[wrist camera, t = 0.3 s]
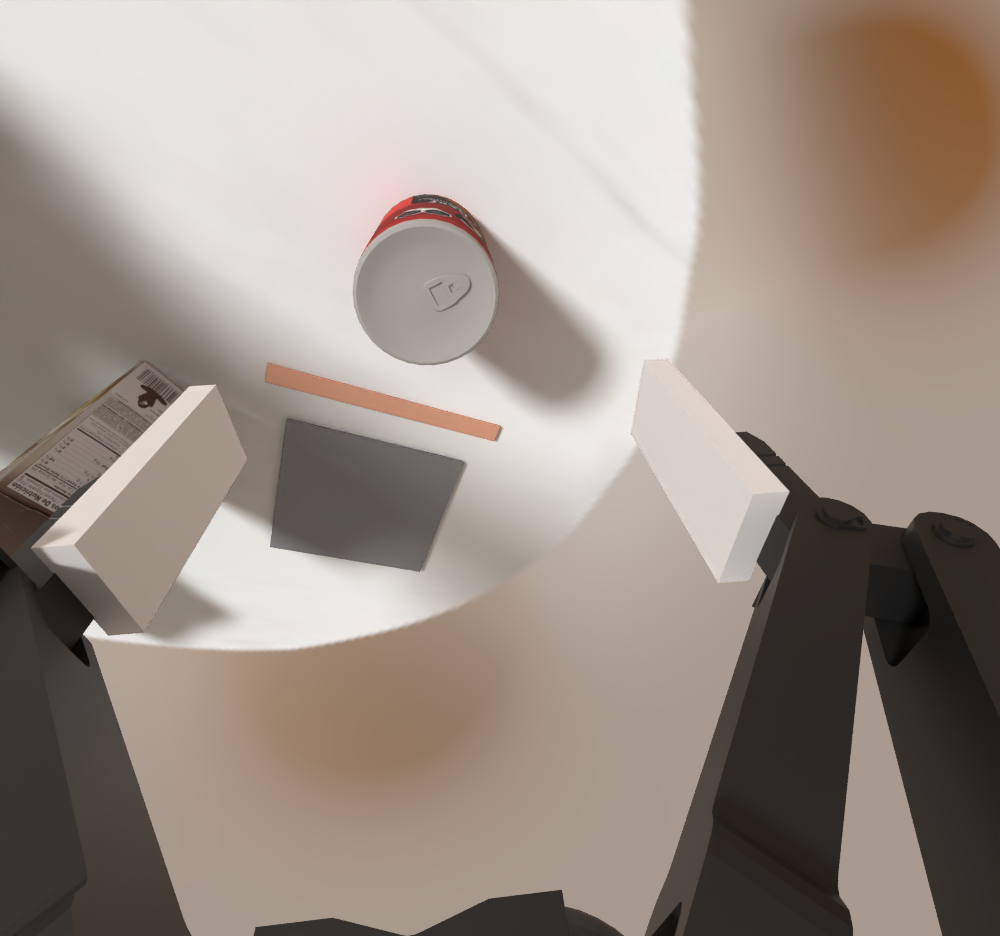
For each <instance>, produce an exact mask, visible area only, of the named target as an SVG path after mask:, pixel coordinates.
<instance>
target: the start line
mask: <svg viewBox="0 0 1000 936" xmlns="http://www.w3.org/2000/svg"><path fill="white" fill-rule="evenodd" d="M265 382H267V383H271V384H275V385H279V386H283V387H287V388H290V389H294V390H298V391H302V392H306V393H310V394H314V395H318V396H321V397H325V398H329V399H333V400H337V401H341V402H345V403H348V404H352V405H356V406H360V407H364V408H368V409H372V410H375V411H379V412H383V413H387V414H391V415H395V416H399V417H402V418H406V419H410V420H414V421H418V422H422V423H426V424H429V425H433V426H437V427H441V428H445V429H449V430H453V431H456V432H460V433H464V434H468V435H472V436H476V437H480V438H484V439H487V440H491V441H494V440H495V438H496V435H497V433H498V431H499V428H500V426H499V425H496V424H492V423H488V422H484V421H481V420H477V419H473V418H470V417H466V416H462V415H459V414H455V413H451V412H447V411H444V410H440V409H436V408H433V407H429V406H425V405H422V404H418V403H414V402H410V401H407V400H403V399H399V398H396V397H392V396H388V395H385V394H381V393H377V392H373V391H370V390H366V389H362V388H359V387H355V386H351V385H348V384H344V383H340V382H336V381H333V380H329V379H325V378H322V377H318V376H314V375H311V374H307V373H303V372H299V371H296V370H292V369H288V368H285V367H281V366H277V365H274V364H270V363H268V364H267V368H266V378H265Z"/></svg>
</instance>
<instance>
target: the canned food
mask: <svg viewBox="0 0 1000 936" xmlns="http://www.w3.org/2000/svg"><path fill="white" fill-rule="evenodd" d="M353 299H354V307H355V310H356V313H357V317H358V320H359V322H360V323H361V325H362V327H363V329H364V331H365V332H366V334H367V335H368V336H369V337H370V339H371V340H372V341H373V342H374V343H375V344H376V345H377V346H378V347H379V348H381V349H382V350H383V351H384V352H386V353H388V354H389V355H391V356H393V357H394V358H397V359H399V360H402V361H405V362H407V363H412V364H418V365H437V364H443V363H448V362H450V361H453V360H456V359H458V358H460V357H462V356H464V355H465V354H467V353H469V352H470V351H471V350H473V349H474V348H475V347H476V346H477V345H478V344H479V343H480V342H481V341H482V340H483V338H484V337H485V336H486V335H487V333H488V332H489V330H490V328H491V326H492V324H493V322H494V319H495V316H496V312H497V309H498V299H499V287H498V278H497V274H496V271H495V268H494V264H493V261H492V258H491V256H490V253H489V250H488V248H487V245H486V243H485V240H484V238H483V235H482V232H481V230H480V228H479V226H478V224H477V223H476V221H475V219H474V218H473V217H472V216H471V214H470V213H469V212H468V211H467V210H466V209H465V208H463V207H462V206H461V205H460V204H458V203H456V202H454V201H453V200H451V199H449V198H446V197H442V196H438V195H426V194H424V195H418V196H413V197H410V198H408V199H406V200H403V201H401V202H400V203H398V204H397V205H396V206H394V207H393V208H392V209H391V210H390V211H389V212H388V213H387V214H386V215H385V216H384V218H383V220H382V221H381V223H380V225H379V226H378V228H377V230H376V231H375V233H374V235H373V236H372V238H371V240H370V241H369V243H368V245H367V247H366V248H365V250H364V252H363V253H362V255H361V258H360V260H359V262H358V265H357V268H356V271H355V276H354V285H353Z"/></svg>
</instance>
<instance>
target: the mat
mask: <svg viewBox="0 0 1000 936" xmlns="http://www.w3.org/2000/svg"><path fill="white" fill-rule="evenodd" d="M462 465H463V461H461V460H457V459H453V458H449V457H445V456H441V455H436V454H432V453H428V452H424V451H420V450H416V449H411V448H407V447H403V446H399V445H395V444H391V443H387V442H382V441H378V440H374V439H370V438H366V437H362V436H358V435H353V434H349V433H345V432H341V431H337V430H333V429H329V428H324V427H320V426H316V425H312V424H308V423H304V422H299V421H295V420H291V419H287V422H286V429H285V437H284V445H283V452H282V460H281V467H280V475H279V483H278V490H277V498H276V505H275V513H274V521H273V528H272V536H271V543H270V547H273V548H279V549H286V550H292V551H298V552H304V553H310V554H316V555H322V556H328V557H334V558H340V559H346V560H352V561H358V562H365V563H371V564H377V565H383V566H389V567H395V568H401V569H407V570H413V571H419V572H420V570H421V568H422V565H423V563H424V560H425V558H426V555H427V553H428V550H429V548H430V545H431V543H432V540H433V538H434V535H435V533H436V530H437V528H438V525H439V523H440V520H441V518H442V515H443V513H444V510H445V508H446V505H447V503H448V500H449V498H450V495H451V493H452V490H453V488H454V485H455V483H456V480H457V478H458V475H459V473H460V470H461V468H462Z"/></svg>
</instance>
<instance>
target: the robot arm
mask: <svg viewBox="0 0 1000 936" xmlns="http://www.w3.org/2000/svg"><path fill="white" fill-rule="evenodd" d="M631 435H632V436H633V438H634V440H635V441H636V443H637V445H638V447H639V448H640V450H641V452H642V453H643V455H644V457H645V459H646V460H647V462H648V464H649V465H650V467H651V469H652V471H653V472H654V474H655V476H656V477H657V479H658V481H659V483H660V484H661V486H662V488H663V489H664V491H665V493H666V495H667V496H668V498H669V500H670V501H671V503H672V505H673V506H674V508H675V510H676V512H677V514H678V515H679V517H680V519H681V520H682V522H683V524H684V525H685V527H686V529H687V531H688V532H689V534H690V536H691V537H692V539H693V541H694V543H695V544H696V546H697V548H698V549H699V551H700V553H701V555H702V556H703V558H704V560H705V561H706V563H707V565H708V567H709V568H710V570H711V572H712V573H713V575H714V577H715V579H716V580H717V582H718V583H726V582H738V581H748V580H750V578H751V576H752V573H753V571H754V569H755V567H756V565H757V563H758V564H759V566H760V567H761V569H762V570H763V572H764V573H765V574H766V575H767V576H766V579H765V581H764V583H763V585H762V587H761V589H760V591H759V593H758V595H757V597H756V599H755V601H754V603H753V605H752V607H755V609H754V612H753V615H752V618H751V621H750V624H749V628H748V630H747V633H746V636H745V640H744V643H743V646H742V649H741V652H740V655H739V658H738V661H737V664H736V668H735V670H734V674H733V677H732V680H731V683H730V686H729V689H728V692H727V695H726V698H725V701H724V704H723V707H722V711H721V714H720V717H719V720H718V723H717V726H716V729H715V732H714V735H713V738H712V741H711V745H710V747H709V751H708V754H707V757H706V760H705V763H704V766H703V769H702V772H701V775H700V778H699V781H698V785H697V788H696V791H695V794H694V797H693V800H692V803H691V806H690V809H689V812H688V815H687V818H686V822H685V825H684V828H683V831H682V834H681V837H680V840H679V843H678V846H677V849H676V852H675V855H674V859H673V862H672V864H671V867H670V870H669V873H668V876H667V878H666V881H665V883H664V885H663V888H662V890H661V892H660V894H659V897H658V900H657V902H656V905H655V908H654V910H653V913H652V916H651V919H650V922H649V924H648V927H647V930H646V934H645V936H853V926H852V921H851V916H850V912H849V909H848V908H847V906H846V905H845V904H844V902H843V901H842V899H841V898H840V896H839V891H838V871H839V861H840V852H841V842H842V832H843V821H844V812H845V802H846V792H847V783H848V773H849V764H850V754H851V744H852V734H853V724H854V714H855V704H856V695H857V685H858V675H859V665H860V656H861V646H862V636H863V629H864V633H865V637H866V641H867V645H868V648H869V652H870V656H871V660H872V664H873V668H874V672H875V676H876V680H877V684H878V687H879V691H880V695H881V699H882V703H883V707H884V711H885V715H886V718H887V722H888V726H889V730H890V734H891V737H892V742H893V746H894V750H895V753H896V757H897V761H898V765H899V769H900V773H901V776H902V780H903V784H904V788H905V792H906V796H907V800H908V804H909V808H910V812H911V816H912V819H913V823H914V827H915V831H916V835H917V839H918V843H919V846H920V851H921V854H922V858H923V862H924V866H925V870H926V874H927V878H928V882H929V886H930V889H931V893H932V897H933V901H934V905H935V909H936V912H937V917H938V920H939V924H940V928H941V932H942V936H1000V548H999V547H998V545H997V544H996V542H995V541H994V540H993V539H992V538H991V537H990V536H989V534H988V533H986V532H985V531H983V530H982V529H980V528H979V527H977V526H976V525H975V524H973V523H971V522H969V521H967V520H964V519H962V518H960V517H956V516H952V515H948V514H945V513H937V512H926V513H920V514H918V515H917V516H916V517H915V518H914V519H913V521H912V522H911V523H910V525H909V527H908V528H907V529H905V528H899V527H892V526H885V525H878V524H872V523H871V521H870V520H869V519H868V518H867V517H866V516H865V514H864V513H862V512H860V511H859V510H857V509H856V508H855V507H853V506H851V505H849V504H846V503H844V502H841V501H839V500H834V499H830V498H819V497H818V496H817V495H816V494H815V493H814V492H813V491H812V490H811V489H810V488H809V487H808V486H807V485H806V484H805V483H804V482H803V481H802V480H801V479H800V478H799V477H798V475H796V473H794V471H793V470H791V468H790V467H789V466H786V465H785V463H784V461H783V460H782V459H781V458H780V457H779V456H776V453H775V452H774V451H773V450H772V449H771V448H770V447H769V446H768V445H767V444H766V443H765V442H764V441H762V440H760V439H758V438H757V437H755V436H753V435H751V434H750V433H748V432H736V433H735V432H734V431H733V430H732V428H730V426H729V425H728V424H727V423H726V422H725V421H724V420H723V419H722V418H721V416H720V415H719V414H718V413H717V412H716V411H715V410H714V409H713V408H712V407H711V406H710V405H709V403H708V402H707V401H706V400H705V399H704V398H703V397H702V396H701V395H700V394H699V393H698V391H697V390H696V389H695V388H694V387H693V386H692V385H691V384H690V383H689V382H688V381H687V380H686V379H685V377H684V376H683V375H682V374H681V373H680V372H679V371H678V370H677V369H676V368H675V366H674V365H673V364H672V363H671V362H670V361H669V360H668V359H657V360H644V362H643V368H642V374H641V380H640V386H639V391H638V397H637V403H636V409H635V414H634V420H633V426H632V432H631ZM247 460H248V459H247V456H246V454H245V452H244V449H243V447H242V445H241V442H240V440H239V438H238V435H237V433H236V430H235V428H234V426H233V423H232V421H231V419H230V416H229V414H228V411H227V409H226V407H225V404H224V402H223V400H222V397H221V395H220V393H219V390H218V388H217V385H200V386H189V387H188V388H187V389H186V390H185V391H184V392H183V393H182V394H181V395H180V397H179V398H178V399H177V400H176V401H175V402H174V403H173V404H172V405H171V406H170V407H169V408H168V409H167V410H166V411H165V412H164V413H163V414H162V415H161V416H160V417H159V418H158V419H157V420H156V421H155V422H154V423H153V424H152V425H151V426H150V427H149V428H148V429H147V430H146V431H145V432H144V433H143V434H142V435H141V436H140V437H139V438H138V439H137V440H136V441H135V442H134V443H133V444H132V445H131V446H130V447H129V448H128V449H127V450H126V452H125V453H124V454H123V455H122V456H121V457H120V458H119V459H118V460H117V461H116V462H115V463H114V464H113V465H112V466H111V467H110V468H109V469H108V470H107V471H106V472H105V473H104V474H103V475H102V476H99V477H97V478H95V479H94V480H92V481H91V482H89V483H87V484H86V485H84V486H83V487H81V488H79V489H78V490H76V491H75V492H74V493H73V494H72V495H71V496H70V497H69V498H68V499H67V500H66V501H65V502H64V503H63V504H62V508H58V509H57V510H56V511H55V512H54V513H53V514H52V515H51V516H50V517H49V518H50V520H46V521H45V522H44V523H43V524H42V525H41V526H40V527H39V528H38V529H37V530H36V531H35V532H34V533H33V534H32V535H31V536H30V537H29V538H28V539H27V540H26V541H25V542H24V543H23V544H22V545H21V546H20V547H19V548H18V549H17V550H16V551H15V552H14V553H13V554H12V555H11V556H9V555H8V554H7V553H6V552H5V551H4V550H3V549H2V548H1V547H0V936H191V934H190V932H189V930H188V928H187V926H186V924H185V922H184V919H183V916H182V913H181V910H180V907H179V904H178V901H177V898H176V895H175V892H174V889H173V886H172V883H171V880H170V877H169V874H168V871H167V868H166V865H165V862H164V859H163V856H162V853H161V850H160V847H159V844H158V841H157V838H156V835H155V832H154V829H153V826H152V823H151V820H150V817H149V814H148V811H147V808H146V805H145V802H144V799H143V796H142V793H141V790H140V787H139V784H138V781H137V778H136V775H135V772H134V769H133V766H132V763H131V760H130V758H129V754H128V751H127V748H126V745H125V742H124V739H123V736H122V733H121V730H120V728H119V724H118V721H117V718H116V715H115V712H114V709H113V706H112V703H111V700H110V697H109V695H108V691H107V688H106V686H105V682H104V679H103V676H102V673H101V670H100V668H99V664H98V662H97V658H96V655H95V652H94V649H93V646H92V644H91V643H90V642H89V640H88V639H87V638H86V637H85V636H84V635H83V633H84V632H85V630H86V629H87V627H88V626H89V625H90V623H91V622H92V620H93V619H94V620H95V621H96V622H97V623H98V625H99V626H100V627H101V628H102V629H103V630H104V631H105V632H106V634H107V635H120V634H131V633H143V632H145V630H146V629H147V627H148V625H149V624H150V622H151V620H152V619H153V617H154V615H155V614H156V612H157V610H158V609H159V607H160V605H161V604H162V602H163V600H164V599H165V597H166V595H167V594H168V592H169V590H170V588H171V587H172V585H173V583H174V582H175V580H176V578H177V577H178V575H179V573H180V572H181V570H182V568H183V567H184V565H185V563H186V562H187V560H188V558H189V557H190V555H191V553H192V552H193V550H194V548H195V547H196V545H197V543H198V542H199V540H200V538H201V537H202V535H203V533H204V532H205V530H206V528H207V527H208V525H209V523H210V522H211V520H212V518H213V517H214V515H215V513H216V511H217V510H218V508H219V506H220V505H221V503H222V501H223V500H224V498H225V496H226V495H227V493H228V491H229V490H230V488H231V486H232V485H233V483H234V481H235V480H236V478H237V476H238V475H239V473H240V471H241V470H242V468H243V466H244V465H245V463H246V461H247ZM254 936H404V935H399V934H395V933H391V932H387V931H383V930H379V929H375V928H371V927H367V926H363V925H359V924H355V923H351V922H347V921H343V920H339V919H335V918H327V919H319V920H311V921H304V922H295V923H287V924H278V925H271V926H262V927H256V928H255V933H254ZM411 936H624V935H622V934H621V933H620V932H618V931H617V930H616V929H615V928H613V927H611V926H610V925H608V924H606V923H605V922H603V921H602V920H600V919H598V918H596V917H594V916H591V915H589V914H587V913H585V912H582V911H580V910H576V909H573V908H568V907H565V906H564V900H563V893H562V890H557V891H549V892H540V893H533V894H524V895H516V896H508V897H500V898H491V899H488V900H486V901H484V902H481V903H479V904H477V905H475V906H473V907H471V908H469V909H467V910H465V911H463V912H461V913H459V914H457V915H455V916H453V917H451V918H449V919H447V920H445V921H443V922H441V923H438V924H437V925H434V926H432V927H430V928H428V929H426V930H424V931H422V932H420V933H418V934H415V935H411Z"/></svg>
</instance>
